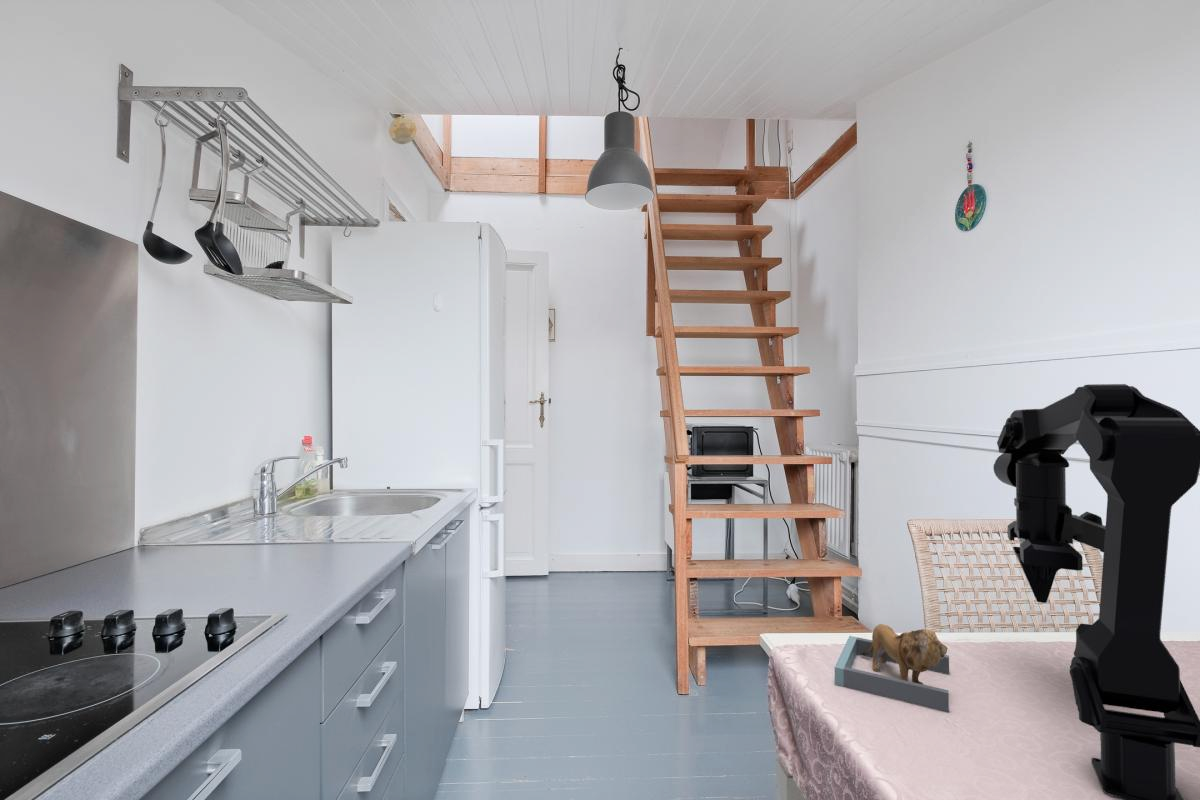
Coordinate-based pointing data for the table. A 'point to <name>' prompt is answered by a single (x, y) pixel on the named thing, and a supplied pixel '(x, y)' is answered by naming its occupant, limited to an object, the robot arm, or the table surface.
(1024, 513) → the robot arm
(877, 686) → the chassis bay
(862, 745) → the table surface
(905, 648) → the lion figurine
